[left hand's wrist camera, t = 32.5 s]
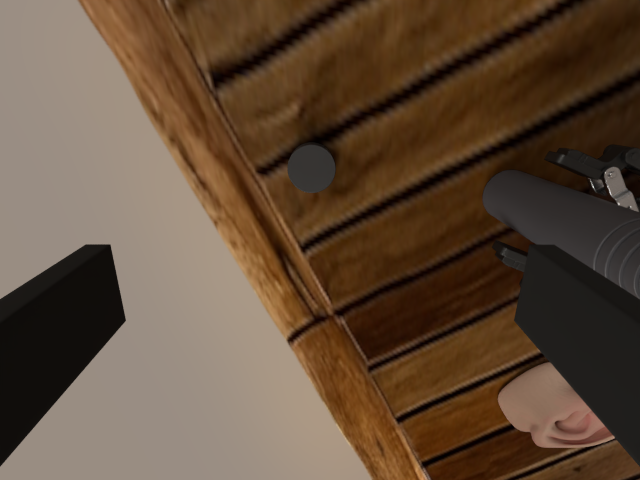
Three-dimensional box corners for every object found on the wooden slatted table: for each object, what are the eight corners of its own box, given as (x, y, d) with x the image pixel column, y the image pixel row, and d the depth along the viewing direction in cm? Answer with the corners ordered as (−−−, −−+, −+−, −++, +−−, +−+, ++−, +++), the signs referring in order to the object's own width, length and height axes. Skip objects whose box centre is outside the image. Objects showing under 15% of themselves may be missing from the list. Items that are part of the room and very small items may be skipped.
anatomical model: (496, 436, 43) (568, 363, 40) (481, 409, 47) (546, 340, 44) (581, 479, 46) (656, 414, 43) (561, 451, 50) (628, 389, 46)
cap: (343, 160, 37) (345, 164, 35) (316, 196, 38) (316, 201, 36) (306, 132, 36) (306, 134, 34) (280, 170, 37) (278, 174, 35)
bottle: (490, 226, 39) (700, 375, 18) (475, 183, 38) (685, 290, 16) (538, 205, 39) (814, 335, 17) (524, 160, 37) (809, 243, 16)
